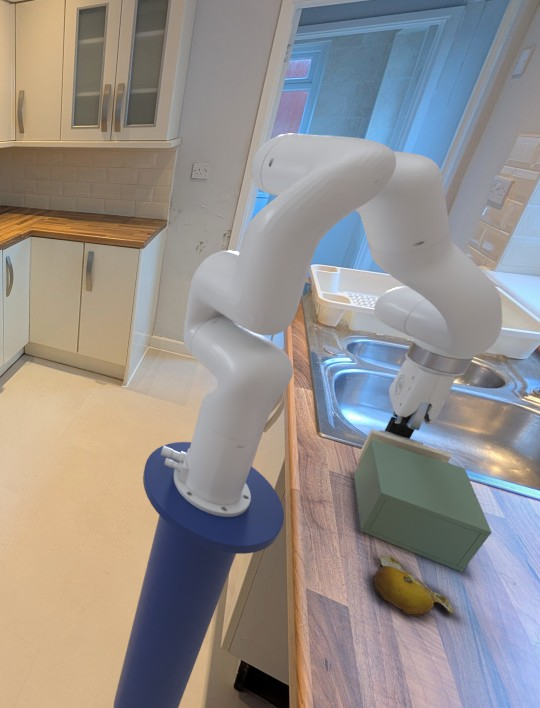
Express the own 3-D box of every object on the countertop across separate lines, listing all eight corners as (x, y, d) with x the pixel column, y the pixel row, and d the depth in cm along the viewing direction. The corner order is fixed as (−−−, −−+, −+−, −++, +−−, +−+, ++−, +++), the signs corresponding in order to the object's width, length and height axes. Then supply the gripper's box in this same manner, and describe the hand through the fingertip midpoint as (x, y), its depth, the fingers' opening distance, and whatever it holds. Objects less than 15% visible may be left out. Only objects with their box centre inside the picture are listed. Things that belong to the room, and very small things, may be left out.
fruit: (457, 609, 57) (470, 592, 55) (424, 637, 54) (436, 620, 52) (384, 554, 64) (394, 538, 62) (351, 577, 61) (361, 560, 59)
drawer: (355, 443, 83) (368, 416, 81) (427, 466, 78) (443, 438, 75) (363, 503, 71) (379, 473, 68) (449, 535, 66) (470, 504, 63)
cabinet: (353, 475, 77) (371, 439, 74) (440, 505, 72) (464, 468, 68) (360, 531, 67) (381, 492, 64) (462, 572, 61) (491, 532, 58)
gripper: (401, 333, 81) (365, 410, 88) (417, 370, 69) (374, 454, 77) (456, 344, 77) (413, 423, 85) (481, 385, 66) (430, 472, 73)
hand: (395, 438), depth 81 cm, fingers closed
